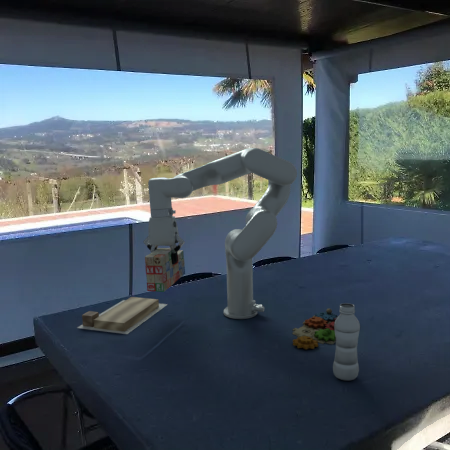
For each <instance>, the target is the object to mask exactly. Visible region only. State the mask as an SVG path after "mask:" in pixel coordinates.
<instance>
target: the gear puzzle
mask: <svg viewBox="0 0 450 450" xmlns="http://www.w3.org/2000/svg"><path fill="white" fill-rule="evenodd" d="M337 317H338V315H337V314H334V312H333V310H332V308H327V309H326V310H325V311H324V312H323V311H319V312H318V313H315V314H314V315H313V316H312V317H310V318H308V319H305V320H304V321H303V322H302V326H300V327H299V328H297V327H294V328H293V329H292V334H291V335H293V336H296V339H295V338H294V339H292V346H295V347H296V348H297V349H302V348H303V349H304V350H309V349H312V350H314V349H315V347H316V348H318V347H319V344H321V345H324V344H328V345H335V344H336V337H335V329H334V323H335V320H336V319H337Z"/></svg>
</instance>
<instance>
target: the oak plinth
mask: <svg viewBox="0 0 450 450" xmlns="http://www.w3.org/2000/svg"><path fill="white" fill-rule="evenodd" d="M124 300H125V301H124V302H122V303H120V304H119V305H117V306H115V307H114V308H112V309H111V310H109V311H107V312H106V313H104V314H102V315H101V316H99V317H97V318H96V319H94V328H99V329H107V330H115V331H123V332H125V331H126V330H127V329H129V328H130V327H132V326H133V325H134V324H136V323H137V322H139V321H140V320H141V319H143V318H144V317H146V316H147V315H148V314H150V313H151V312H153V311H154V310H155V309H157V308H158V307H159V304H160V301H159V298H158V299H156V298H148V297H136V296H131V297H128V299H124Z"/></svg>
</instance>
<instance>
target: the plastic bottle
mask: <svg viewBox="0 0 450 450" xmlns="http://www.w3.org/2000/svg"><path fill="white" fill-rule="evenodd" d="M355 307H356V306H355V304H353V303H349V302H344V303H340V304H339V311H338V312H339V315H337V319H336V320H335V323H334V329H335V337H336V339H335V341H336V342H335V353H334V360H333V363H332V371H333V375H334V376H335V377H336V379H339V380H341V381H354V380H356V378H357V377H358V376H359V372H360V366H359V361H358V360H359V359H358V344H359V343H358V341H359V337H360V336H359V334H360V329H361V324H360V321H359V320H358V318H357V316H356V315H355V313H356V310H355V309H356V308H355Z"/></svg>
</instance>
